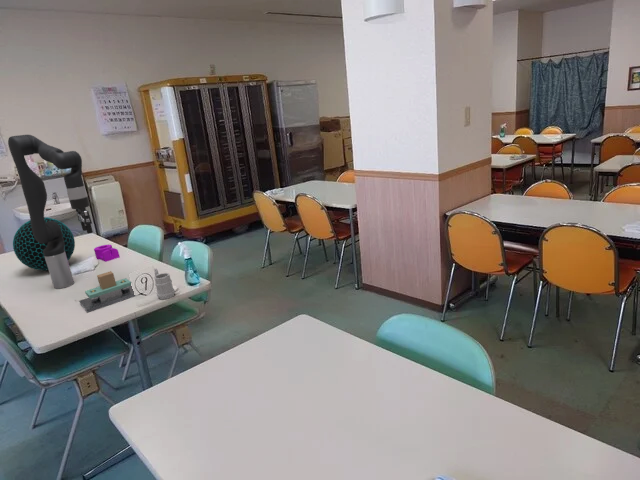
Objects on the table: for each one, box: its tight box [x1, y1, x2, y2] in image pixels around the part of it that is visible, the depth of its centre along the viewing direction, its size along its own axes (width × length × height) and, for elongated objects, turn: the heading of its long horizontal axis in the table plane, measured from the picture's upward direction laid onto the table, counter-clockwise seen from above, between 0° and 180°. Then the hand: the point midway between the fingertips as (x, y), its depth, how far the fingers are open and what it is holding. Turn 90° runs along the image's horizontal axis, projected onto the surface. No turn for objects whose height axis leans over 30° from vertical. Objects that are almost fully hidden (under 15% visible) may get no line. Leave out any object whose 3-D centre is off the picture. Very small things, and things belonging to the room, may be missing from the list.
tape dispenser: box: [93, 244, 120, 263], centre depth 268 cm, size 16×10×6 cm, turn 46°
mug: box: [153, 267, 176, 300], centre depth 200 cm, size 8×12×12 cm, turn 43°
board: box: [85, 270, 132, 299], centre depth 202 cm, size 18×8×8 cm, turn 129°
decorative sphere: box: [12, 217, 76, 271], centre depth 256 cm, size 30×30×30 cm
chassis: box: [78, 280, 136, 313], centre depth 204 cm, size 14×24×6 cm, turn 129°
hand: (87, 231), depth 205 cm, fingers open, 8 cm apart
